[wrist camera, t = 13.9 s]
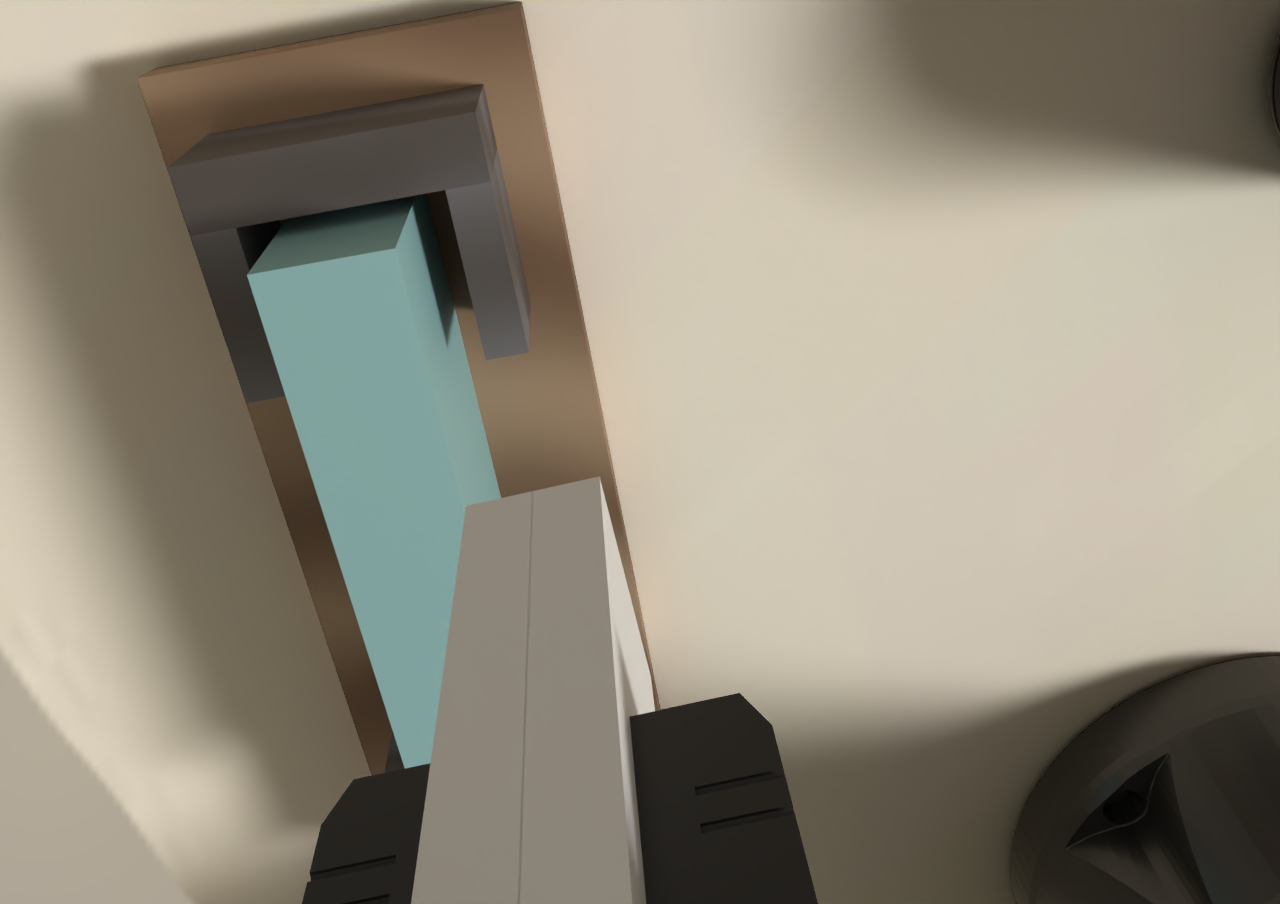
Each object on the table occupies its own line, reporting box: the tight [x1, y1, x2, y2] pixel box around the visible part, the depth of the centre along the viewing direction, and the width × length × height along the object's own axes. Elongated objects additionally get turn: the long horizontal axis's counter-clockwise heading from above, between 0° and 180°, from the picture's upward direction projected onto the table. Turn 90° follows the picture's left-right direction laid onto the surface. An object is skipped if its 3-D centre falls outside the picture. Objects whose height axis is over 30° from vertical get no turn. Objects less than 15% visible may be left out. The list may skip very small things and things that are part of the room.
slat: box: [247, 193, 501, 769], centre depth 31 cm, size 18×3×6 cm, turn 9°
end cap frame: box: [137, 2, 660, 776], centre depth 33 cm, size 26×9×5 cm, turn 9°
